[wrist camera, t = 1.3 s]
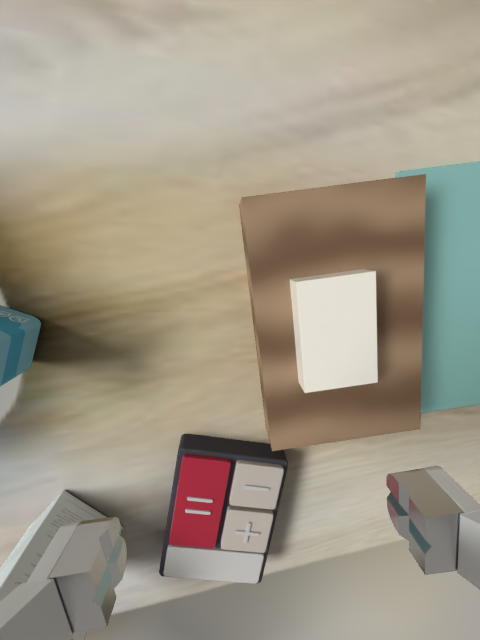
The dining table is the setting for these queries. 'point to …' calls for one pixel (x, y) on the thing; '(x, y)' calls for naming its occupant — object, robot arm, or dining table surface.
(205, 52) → the dining table surface
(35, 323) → the data package
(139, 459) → the dining table surface
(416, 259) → the board
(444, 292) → the mat
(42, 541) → the small box
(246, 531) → the calculator
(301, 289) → the white rectangular eraser
